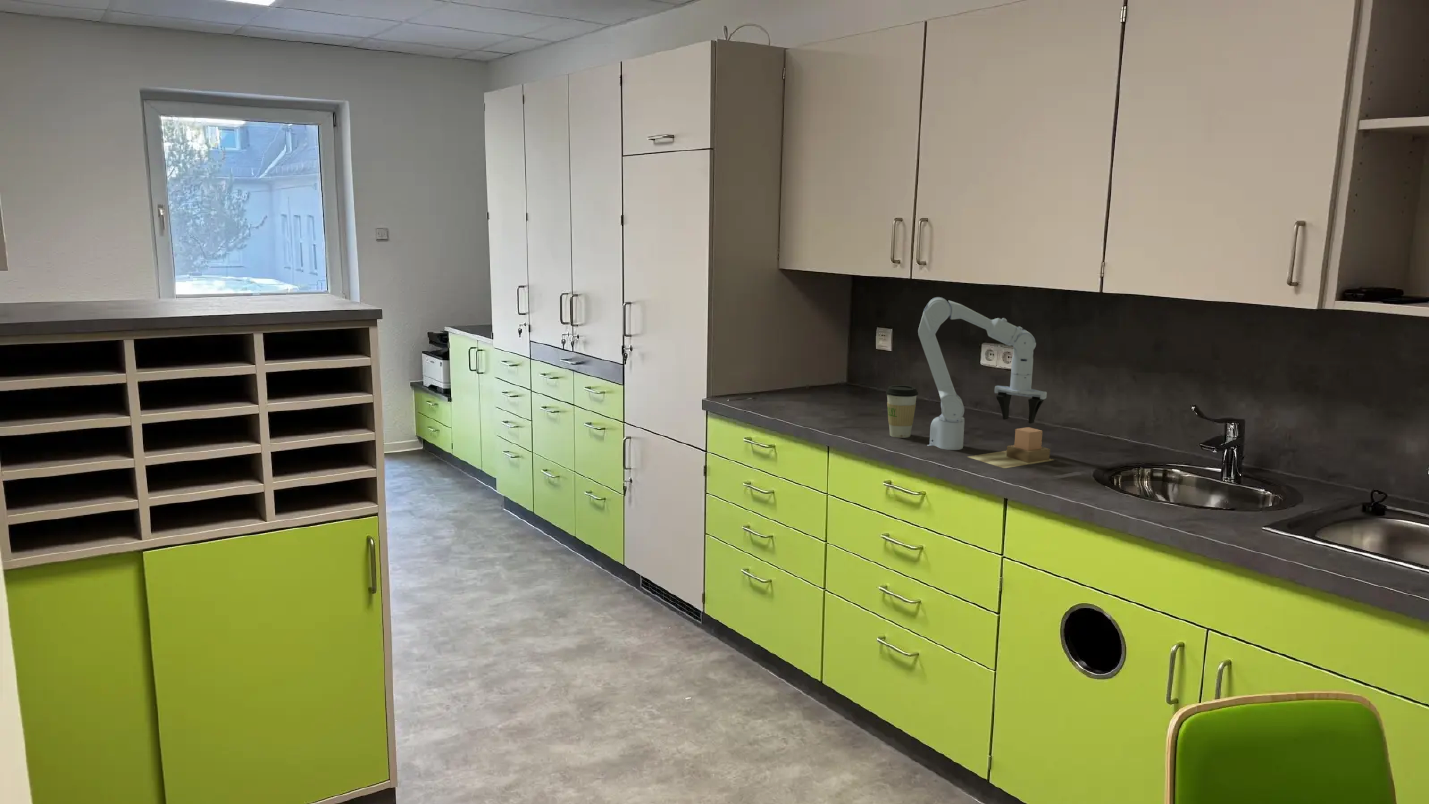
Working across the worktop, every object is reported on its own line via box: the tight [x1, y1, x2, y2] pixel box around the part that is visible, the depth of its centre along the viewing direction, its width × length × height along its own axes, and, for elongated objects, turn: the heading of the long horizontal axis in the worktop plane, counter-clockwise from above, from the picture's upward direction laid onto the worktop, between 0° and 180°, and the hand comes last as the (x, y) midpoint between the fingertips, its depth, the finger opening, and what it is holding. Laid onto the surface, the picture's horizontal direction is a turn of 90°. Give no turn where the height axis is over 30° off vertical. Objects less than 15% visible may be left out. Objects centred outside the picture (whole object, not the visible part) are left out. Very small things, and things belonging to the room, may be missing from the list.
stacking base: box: [967, 444, 1054, 469], centre depth 262 cm, size 14×19×4 cm
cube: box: [1013, 427, 1043, 450], centre depth 262 cm, size 5×5×5 cm
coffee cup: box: [885, 384, 919, 439], centre depth 292 cm, size 10×10×15 cm
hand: (1018, 420), depth 270 cm, fingers open, 7 cm apart
